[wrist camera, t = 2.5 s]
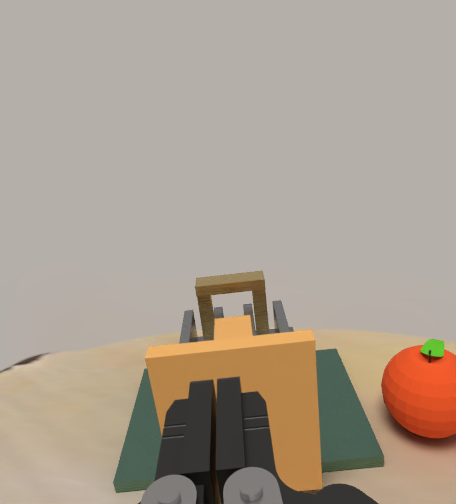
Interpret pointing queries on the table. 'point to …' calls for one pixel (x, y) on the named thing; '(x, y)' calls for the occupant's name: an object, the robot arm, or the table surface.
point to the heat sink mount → (327, 361)
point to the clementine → (422, 389)
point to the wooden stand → (253, 387)
